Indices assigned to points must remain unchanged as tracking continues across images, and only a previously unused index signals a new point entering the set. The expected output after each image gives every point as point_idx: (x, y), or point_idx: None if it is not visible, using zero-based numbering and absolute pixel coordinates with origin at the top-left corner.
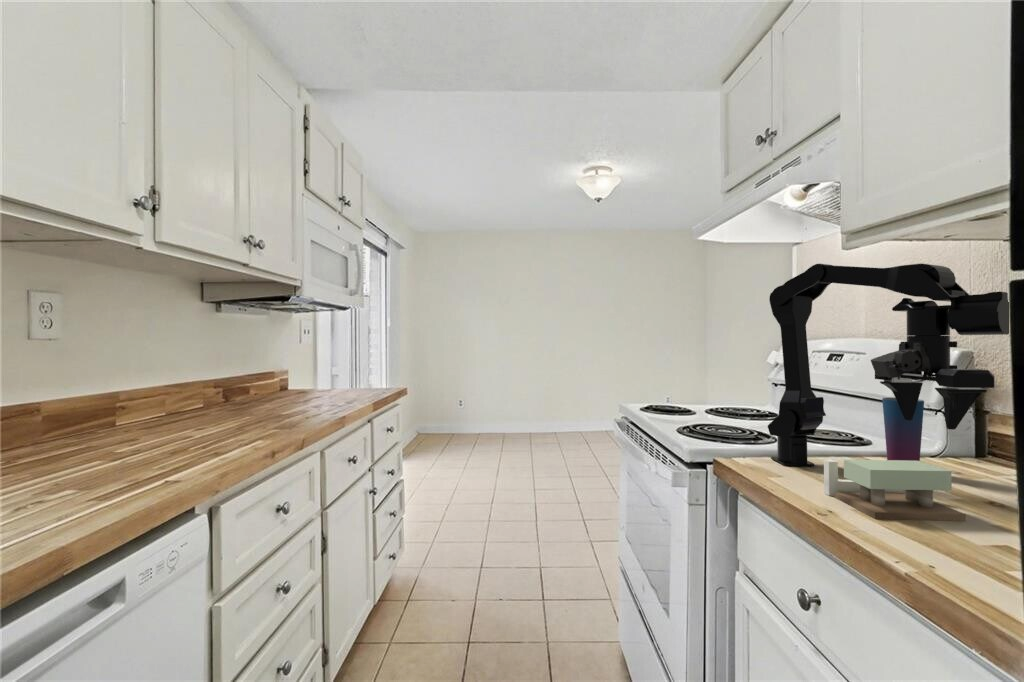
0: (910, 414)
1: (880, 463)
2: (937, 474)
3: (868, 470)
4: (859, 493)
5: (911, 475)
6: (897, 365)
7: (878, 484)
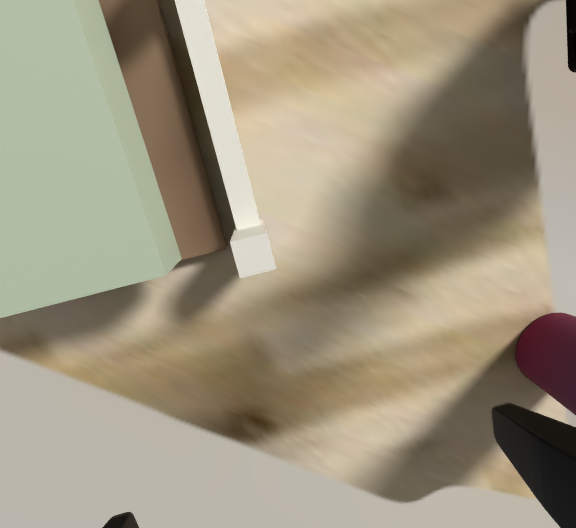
0: (528, 465)
1: (10, 59)
2: None
3: None
4: (155, 61)
5: None
6: None
7: None
